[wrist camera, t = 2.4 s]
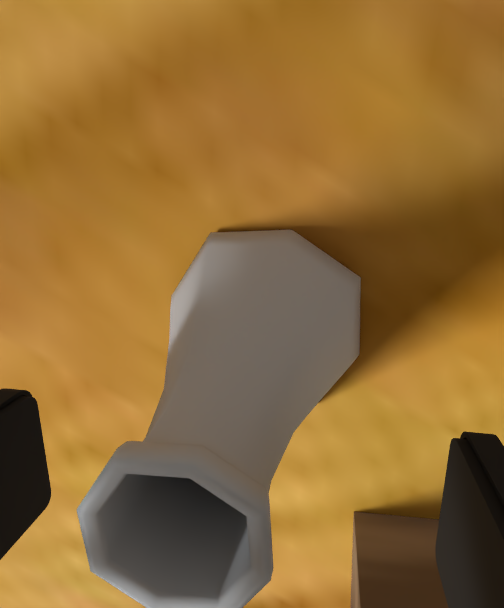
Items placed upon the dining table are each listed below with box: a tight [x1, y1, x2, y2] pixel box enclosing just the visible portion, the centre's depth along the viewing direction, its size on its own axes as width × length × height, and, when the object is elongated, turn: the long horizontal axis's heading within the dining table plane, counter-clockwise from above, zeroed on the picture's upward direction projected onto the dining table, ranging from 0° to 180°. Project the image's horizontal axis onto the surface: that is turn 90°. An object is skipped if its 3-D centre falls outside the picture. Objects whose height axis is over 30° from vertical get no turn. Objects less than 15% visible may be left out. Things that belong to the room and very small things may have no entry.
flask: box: [77, 230, 361, 608], centre depth 11 cm, size 7×7×10 cm
